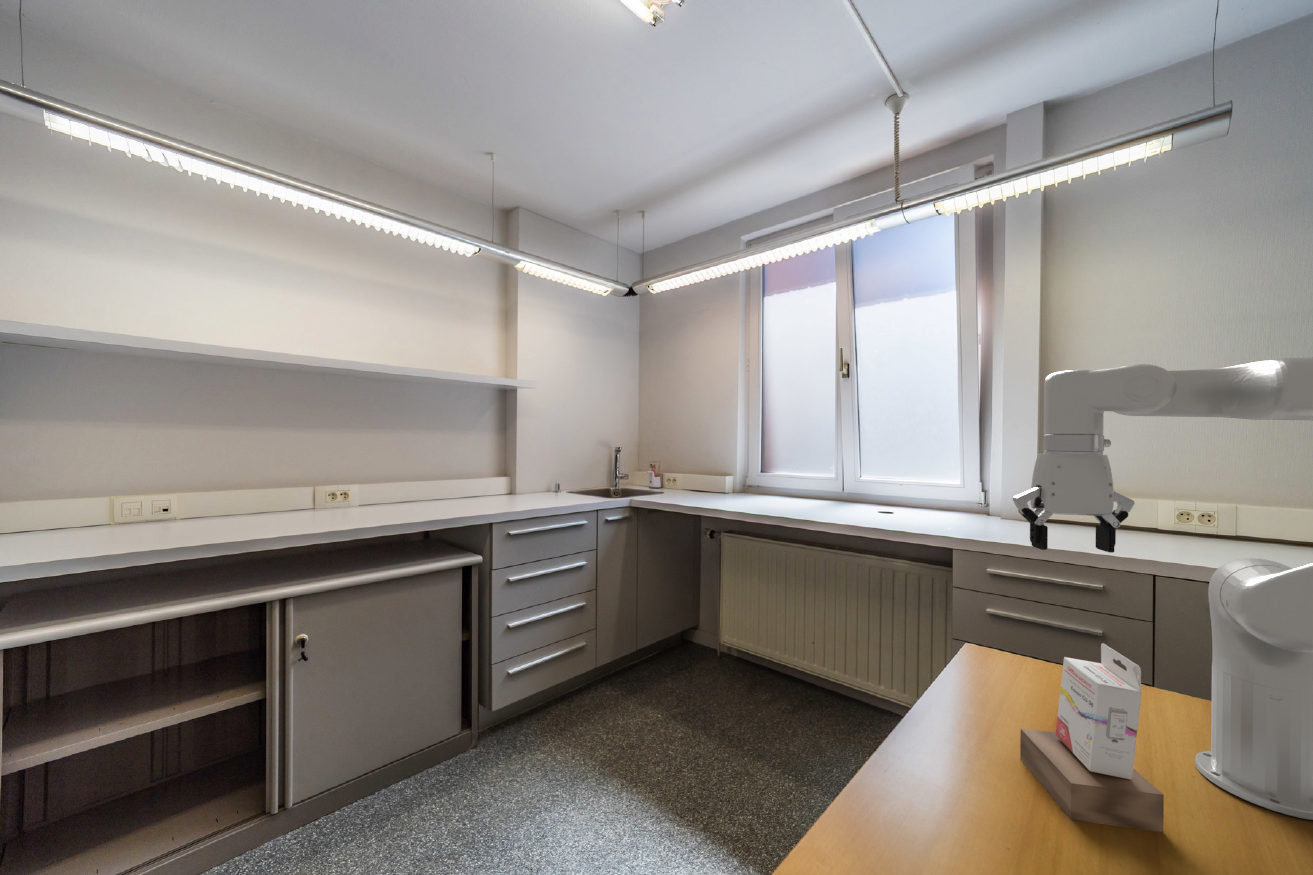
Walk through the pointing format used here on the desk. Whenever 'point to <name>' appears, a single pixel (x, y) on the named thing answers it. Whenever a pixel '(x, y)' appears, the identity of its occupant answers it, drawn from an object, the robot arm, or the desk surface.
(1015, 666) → the desk surface
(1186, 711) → the desk surface
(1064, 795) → the walnut block
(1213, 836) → the desk surface
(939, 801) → the desk surface
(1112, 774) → the ink cartridge box
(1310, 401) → the robot arm
